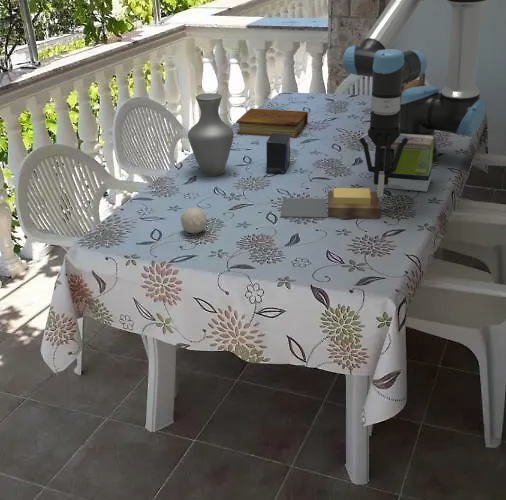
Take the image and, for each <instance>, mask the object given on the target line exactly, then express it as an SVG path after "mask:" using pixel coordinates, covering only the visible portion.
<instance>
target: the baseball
mask: <svg viewBox="0 0 506 500" xmlns="http://www.w3.org/2000/svg"><path fill="white" fill-rule="evenodd" d="M180 216H181V217H180V223H181V226H182V228H183V229H184V230H185V232H187V233H190V234H198V233H201V232H202V231H204V230H205V228H206V227H207V223H208V217H207V215H206V213H205V211H204V210H202V209H201V208H199V207H189V208H186V209H185V210H184V211H183V212H182V214H181V215H180Z"/></svg>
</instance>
